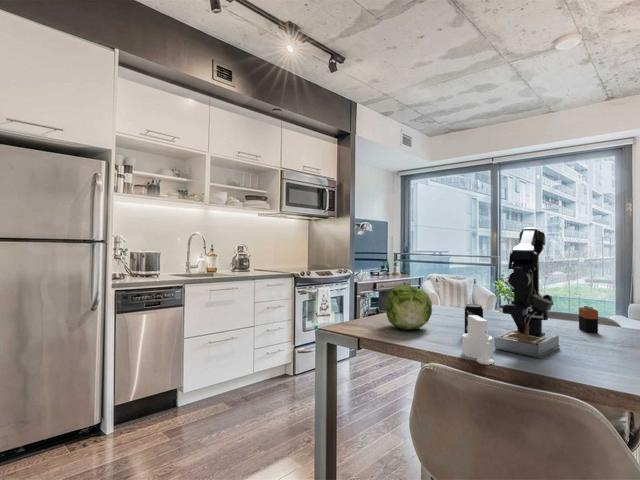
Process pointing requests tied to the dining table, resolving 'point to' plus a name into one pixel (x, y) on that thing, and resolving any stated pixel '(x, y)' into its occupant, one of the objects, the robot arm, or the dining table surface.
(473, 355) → the white stepped block
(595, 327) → the battery
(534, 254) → the robot arm
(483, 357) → the chess piece
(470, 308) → the beverage can
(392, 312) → the lettuce
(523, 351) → the bay
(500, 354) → the dining table surface
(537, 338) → the box
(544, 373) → the dining table surface
